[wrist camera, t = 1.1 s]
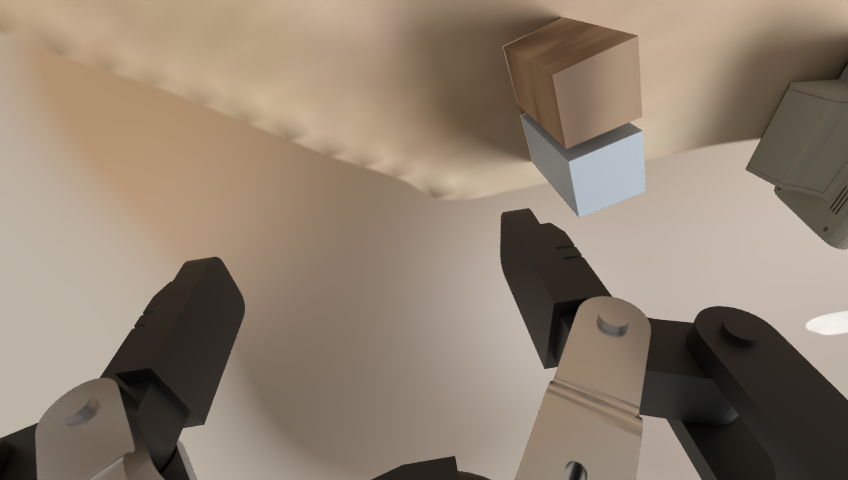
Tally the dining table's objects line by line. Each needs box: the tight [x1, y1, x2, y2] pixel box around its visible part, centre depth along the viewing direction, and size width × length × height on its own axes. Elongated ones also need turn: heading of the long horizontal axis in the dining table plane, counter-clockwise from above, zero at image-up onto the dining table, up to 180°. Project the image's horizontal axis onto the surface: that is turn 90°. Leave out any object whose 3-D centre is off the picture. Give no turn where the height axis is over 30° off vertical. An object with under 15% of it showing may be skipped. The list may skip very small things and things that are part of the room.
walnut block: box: [502, 17, 642, 149], centre depth 27 cm, size 5×5×10 cm
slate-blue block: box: [520, 113, 646, 217], centre depth 30 cm, size 5×5×10 cm
